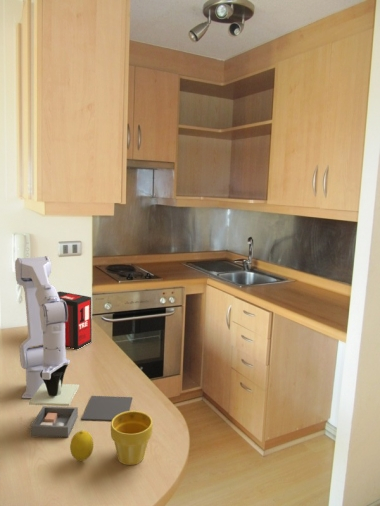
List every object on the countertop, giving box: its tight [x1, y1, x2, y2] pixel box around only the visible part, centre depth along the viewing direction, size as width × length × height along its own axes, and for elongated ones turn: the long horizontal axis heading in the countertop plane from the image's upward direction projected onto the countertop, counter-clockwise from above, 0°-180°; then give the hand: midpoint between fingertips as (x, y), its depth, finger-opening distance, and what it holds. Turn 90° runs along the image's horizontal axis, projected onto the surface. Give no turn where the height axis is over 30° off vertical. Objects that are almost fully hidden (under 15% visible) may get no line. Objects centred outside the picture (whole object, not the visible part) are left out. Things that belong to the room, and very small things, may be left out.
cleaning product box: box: [57, 291, 92, 350], centre depth 176 cm, size 16×9×20 cm, turn 66°
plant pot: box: [110, 410, 154, 466], centre depth 106 cm, size 10×10×10 cm
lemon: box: [69, 430, 94, 462], centre depth 104 cm, size 6×6×8 cm
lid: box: [28, 380, 80, 407], centre depth 117 cm, size 11×11×5 cm
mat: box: [81, 395, 133, 422], centre depth 128 cm, size 13×13×1 cm
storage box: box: [30, 405, 79, 439], centre depth 118 cm, size 10×10×3 cm
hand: (55, 391), depth 117 cm, fingers closed on lid, 3 cm apart
